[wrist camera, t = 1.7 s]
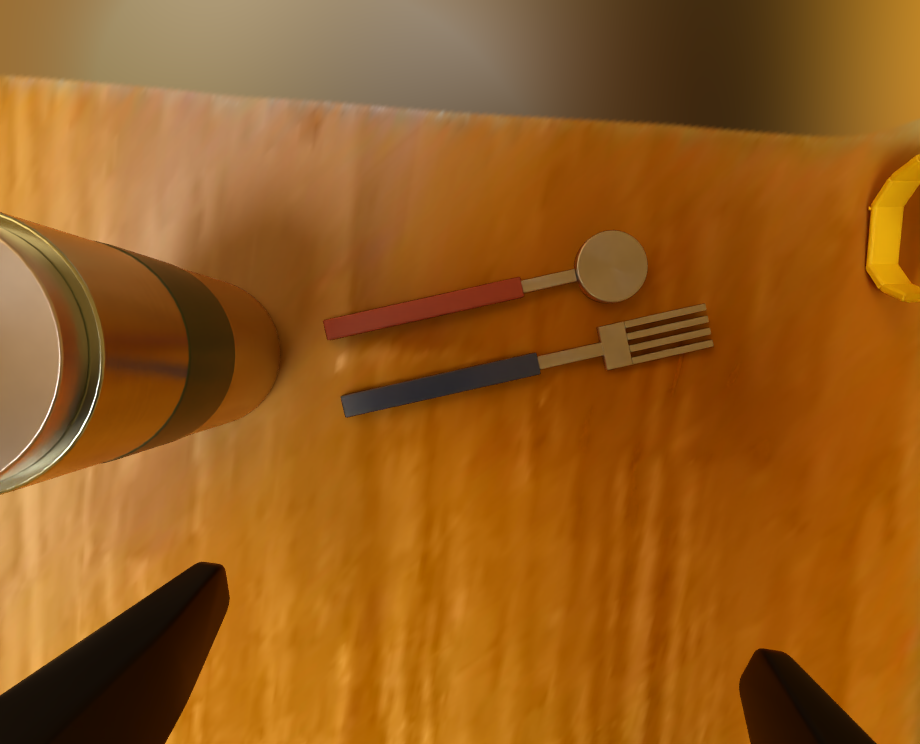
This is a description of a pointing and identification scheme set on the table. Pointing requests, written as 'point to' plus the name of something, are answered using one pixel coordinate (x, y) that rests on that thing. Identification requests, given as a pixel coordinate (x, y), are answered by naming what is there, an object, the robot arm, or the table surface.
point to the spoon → (519, 287)
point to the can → (116, 353)
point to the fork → (537, 363)
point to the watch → (892, 233)
